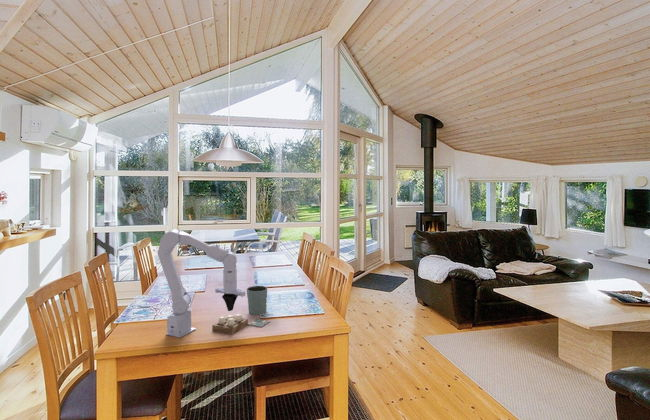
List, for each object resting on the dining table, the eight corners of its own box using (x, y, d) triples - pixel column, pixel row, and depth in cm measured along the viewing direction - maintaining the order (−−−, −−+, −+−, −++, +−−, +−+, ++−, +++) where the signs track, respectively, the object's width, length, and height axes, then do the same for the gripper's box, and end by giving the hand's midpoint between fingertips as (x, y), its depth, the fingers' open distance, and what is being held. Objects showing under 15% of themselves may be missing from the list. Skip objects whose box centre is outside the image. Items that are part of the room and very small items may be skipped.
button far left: (230, 324, 161) (230, 317, 160) (225, 323, 162) (225, 316, 161) (234, 322, 163) (234, 315, 163) (229, 321, 164) (229, 314, 164)
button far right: (239, 323, 159) (239, 316, 158) (234, 322, 160) (234, 315, 160) (243, 320, 161) (243, 314, 161) (238, 319, 162) (238, 313, 162)
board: (231, 334, 152) (231, 328, 151) (212, 330, 155) (212, 325, 155) (247, 324, 163) (247, 319, 162) (229, 320, 166) (229, 315, 166)
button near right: (231, 327, 154) (231, 320, 153) (226, 326, 155) (226, 319, 154) (235, 325, 156) (235, 318, 156) (230, 324, 157) (230, 317, 157)
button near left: (222, 325, 155) (222, 319, 155) (217, 324, 156) (217, 318, 156) (226, 323, 158) (226, 317, 158) (221, 322, 159) (221, 316, 159)
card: (261, 327, 159) (261, 326, 159) (248, 324, 162) (248, 323, 162) (269, 321, 166) (269, 320, 166) (256, 319, 168) (256, 318, 168)
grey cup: (263, 316, 172) (262, 292, 171) (243, 314, 174) (243, 290, 173) (270, 309, 182) (270, 286, 181) (251, 307, 184) (251, 284, 183)
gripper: (249, 279, 158) (249, 309, 159) (222, 276, 163) (222, 305, 164) (239, 283, 151) (240, 314, 152) (212, 279, 157) (212, 310, 158)
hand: (230, 310), depth 158 cm, fingers closed
